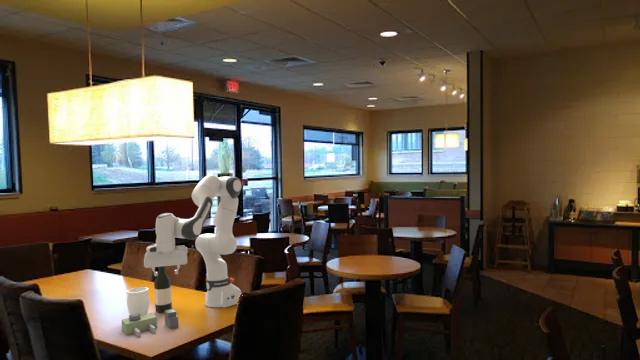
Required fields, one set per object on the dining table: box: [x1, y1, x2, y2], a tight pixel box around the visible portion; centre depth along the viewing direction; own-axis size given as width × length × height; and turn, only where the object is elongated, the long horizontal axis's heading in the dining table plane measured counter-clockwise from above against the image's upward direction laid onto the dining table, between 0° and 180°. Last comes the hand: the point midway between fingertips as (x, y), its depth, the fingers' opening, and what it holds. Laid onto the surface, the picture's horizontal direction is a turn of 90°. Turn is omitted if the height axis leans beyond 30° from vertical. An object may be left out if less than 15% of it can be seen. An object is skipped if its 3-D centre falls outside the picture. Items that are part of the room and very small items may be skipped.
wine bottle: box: [153, 266, 173, 314], centre depth 240 cm, size 8×8×30 cm
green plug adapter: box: [121, 312, 158, 338], centre depth 211 cm, size 14×15×7 cm
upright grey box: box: [164, 308, 179, 330], centre depth 216 cm, size 4×7×7 cm, turn 38°
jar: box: [126, 286, 150, 315], centre depth 228 cm, size 11×10×15 cm
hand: (166, 275), depth 218 cm, fingers open, 8 cm apart
